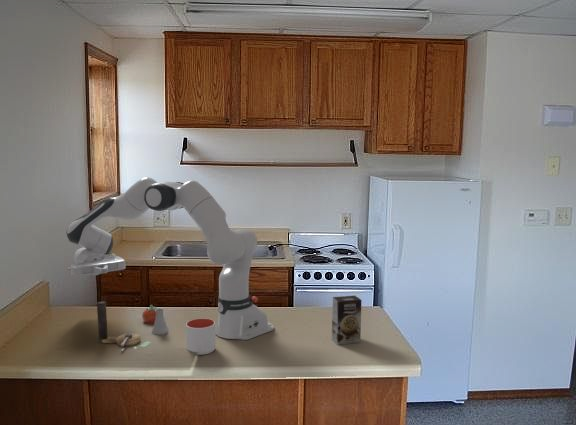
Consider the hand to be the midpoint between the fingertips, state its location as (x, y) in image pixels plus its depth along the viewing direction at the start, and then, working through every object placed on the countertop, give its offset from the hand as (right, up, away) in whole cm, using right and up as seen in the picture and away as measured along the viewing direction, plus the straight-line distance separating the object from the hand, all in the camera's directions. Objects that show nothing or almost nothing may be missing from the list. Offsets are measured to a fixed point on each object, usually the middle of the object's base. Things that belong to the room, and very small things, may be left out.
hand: (104, 271), depth 199 cm
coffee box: (+90, -25, -5) cm, 94 cm away
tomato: (+15, -23, +12) cm, 30 cm away
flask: (+21, -24, 0) cm, 32 cm away
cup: (+39, -26, -14) cm, 49 cm away
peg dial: (+9, -24, -12) cm, 29 cm away
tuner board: (+10, -26, -10) cm, 29 cm away
